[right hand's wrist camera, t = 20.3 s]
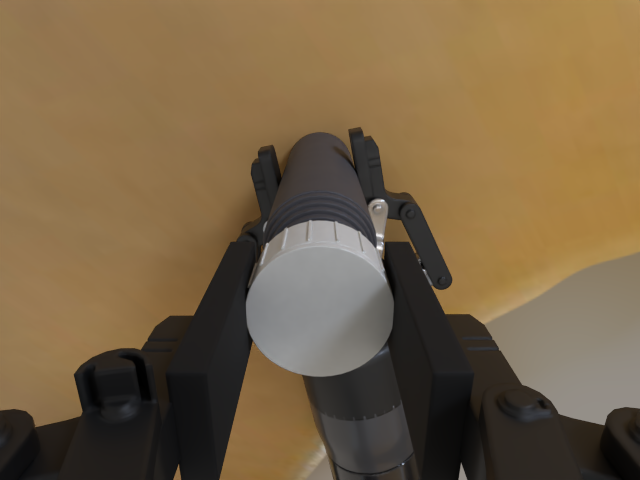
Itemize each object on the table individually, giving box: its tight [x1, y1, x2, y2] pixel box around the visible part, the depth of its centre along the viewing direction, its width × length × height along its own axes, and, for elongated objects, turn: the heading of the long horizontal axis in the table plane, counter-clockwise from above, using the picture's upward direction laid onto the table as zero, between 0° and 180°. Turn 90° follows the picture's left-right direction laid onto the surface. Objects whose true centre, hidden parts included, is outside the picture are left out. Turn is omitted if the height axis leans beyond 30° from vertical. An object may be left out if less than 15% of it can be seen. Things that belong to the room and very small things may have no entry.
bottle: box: [263, 132, 377, 250], centre depth 23 cm, size 4×4×20 cm
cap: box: [246, 220, 394, 377], centre depth 14 cm, size 4×4×2 cm
